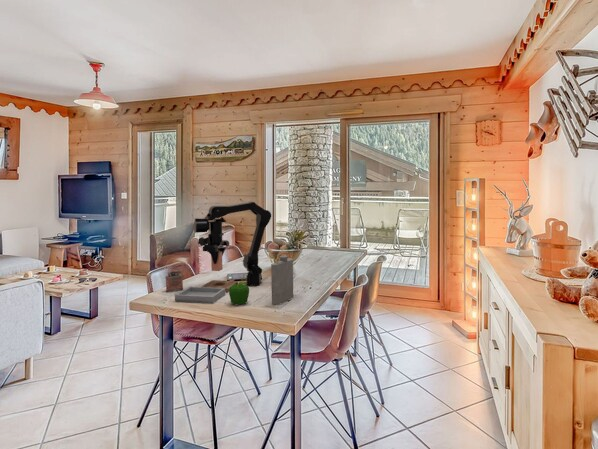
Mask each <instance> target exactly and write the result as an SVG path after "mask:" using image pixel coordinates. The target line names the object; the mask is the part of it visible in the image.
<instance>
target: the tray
mask: <svg viewBox="0 0 598 449" xmlns="http://www.w3.org/2000/svg"><path fill="white" fill-rule="evenodd" d="M225 295H226V293H225V288H209V287H202V286H188V287H187V288H185V289H183V290H182V291H178V292H177V293H176V294H175V295H174V302H175V303H192V304H211V305H212V304H216V303H217V301H219V300H220V299H221V298H223V297H224V296H225Z"/></svg>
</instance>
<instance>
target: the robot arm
mask: <svg viewBox="0 0 598 449" xmlns="http://www.w3.org/2000/svg"><path fill="white" fill-rule="evenodd" d="M244 211H250V212H251V213H252V214H254V215H255V217H256V218H255V223H256V227H255V230H254V233H253V236H252V237H253V238H252V241H251V244H250V248H249V252H248V253H247V254H244V256H243V260H242V261H241V262H242V265H243V268H245V269H246V271H247V275H246V283H247V284H246V285H248V286H255V287H256V286H260V285H261V284H262V283H263V281H262V272H263V269H262V267H260V266H259V251H260V248H261V244H262V240H263V237H264V233H265V230H266V227H267V225H268V224H269V223H270V220H271V218H272V213H271V211H270V210H267V209H264V208H263V207H262V206H260V205H258V203H257V204H256V202H254V201H248V202H243V203H242V202H241V203H236V204H232V205H212V206H210V207H209V209H208V213H207V214H206V216H205V217H203V218H194V222H193V231H194V232H193V233H194V234H198V233H208V231H209V233H208V235H207V237H203V236H202V237H199V238H198V242H197V244H198V245H200V247H202V252H207V253H208V254H210V258H211V257H212V260H213V262H214V264H216V263H217V260H218V256H219V253H220V251H221V252H222V257H223V256H224V253H225V252H226V249H227V247H229V246H230V242H229V241H228V240H227V239H226V240H224V239H223V236H224V235H225V234H224V233H223V223H227V220H226V219H225V218H224V217H225V216H227V215H230V214H233V213H234V214H235V213H240V212H244ZM225 246H226V247H225Z"/></svg>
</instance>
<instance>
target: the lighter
mask: <svg viewBox="0 0 598 449" xmlns="http://www.w3.org/2000/svg"><path fill="white" fill-rule="evenodd" d="M181 273H182V270H180V269H179V270H178V269H177V270H172V271H168V272H167V275H166V276H165V287H166V288H165V289H166V290H165V292H166V293H175V292H177V293H178V292H181V291H183V290H184V286H183V285H184V284H183V282H184V281H183V277H184V275H183V274H181Z"/></svg>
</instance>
